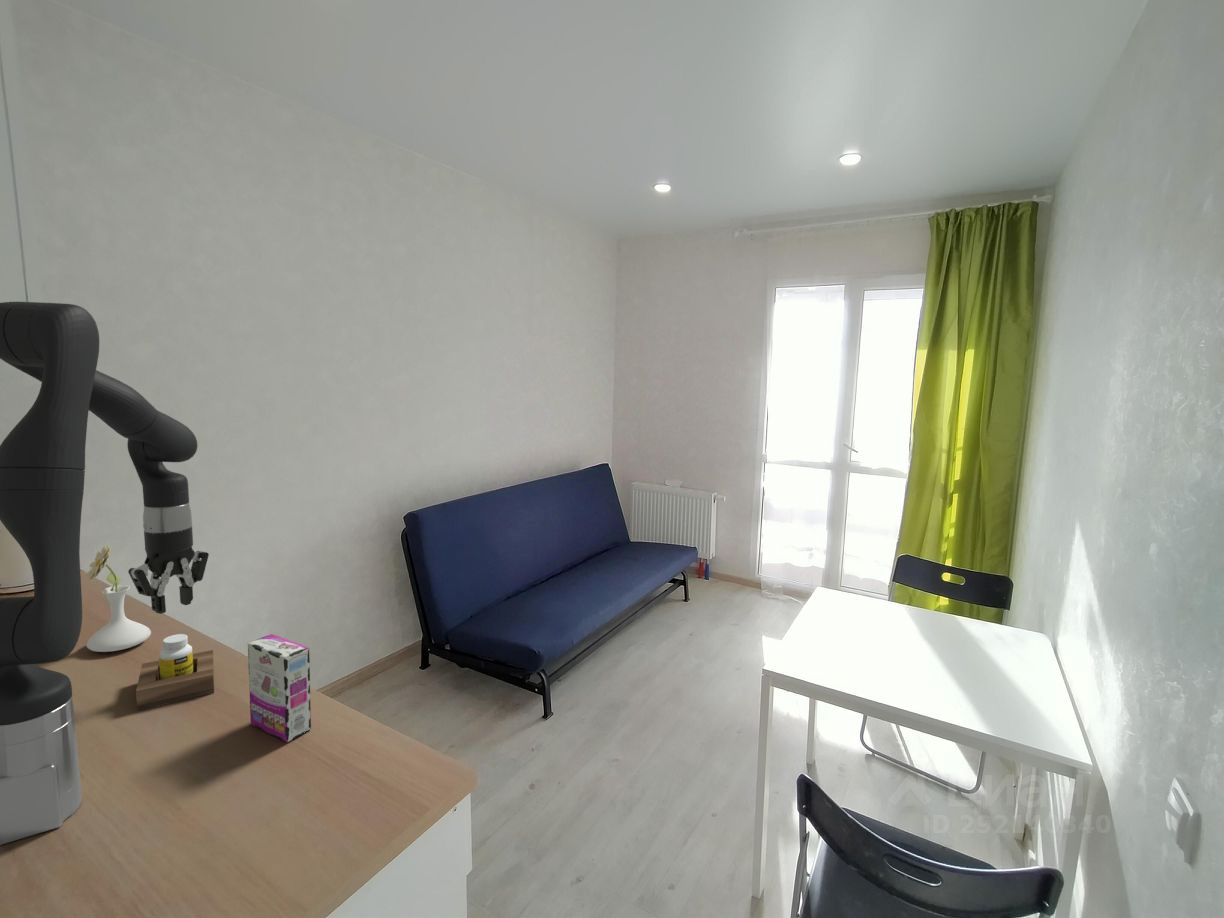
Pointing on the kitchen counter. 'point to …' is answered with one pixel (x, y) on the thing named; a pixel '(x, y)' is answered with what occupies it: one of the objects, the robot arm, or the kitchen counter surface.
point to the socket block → (175, 682)
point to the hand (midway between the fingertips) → (173, 607)
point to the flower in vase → (114, 613)
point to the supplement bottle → (175, 657)
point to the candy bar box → (279, 687)
